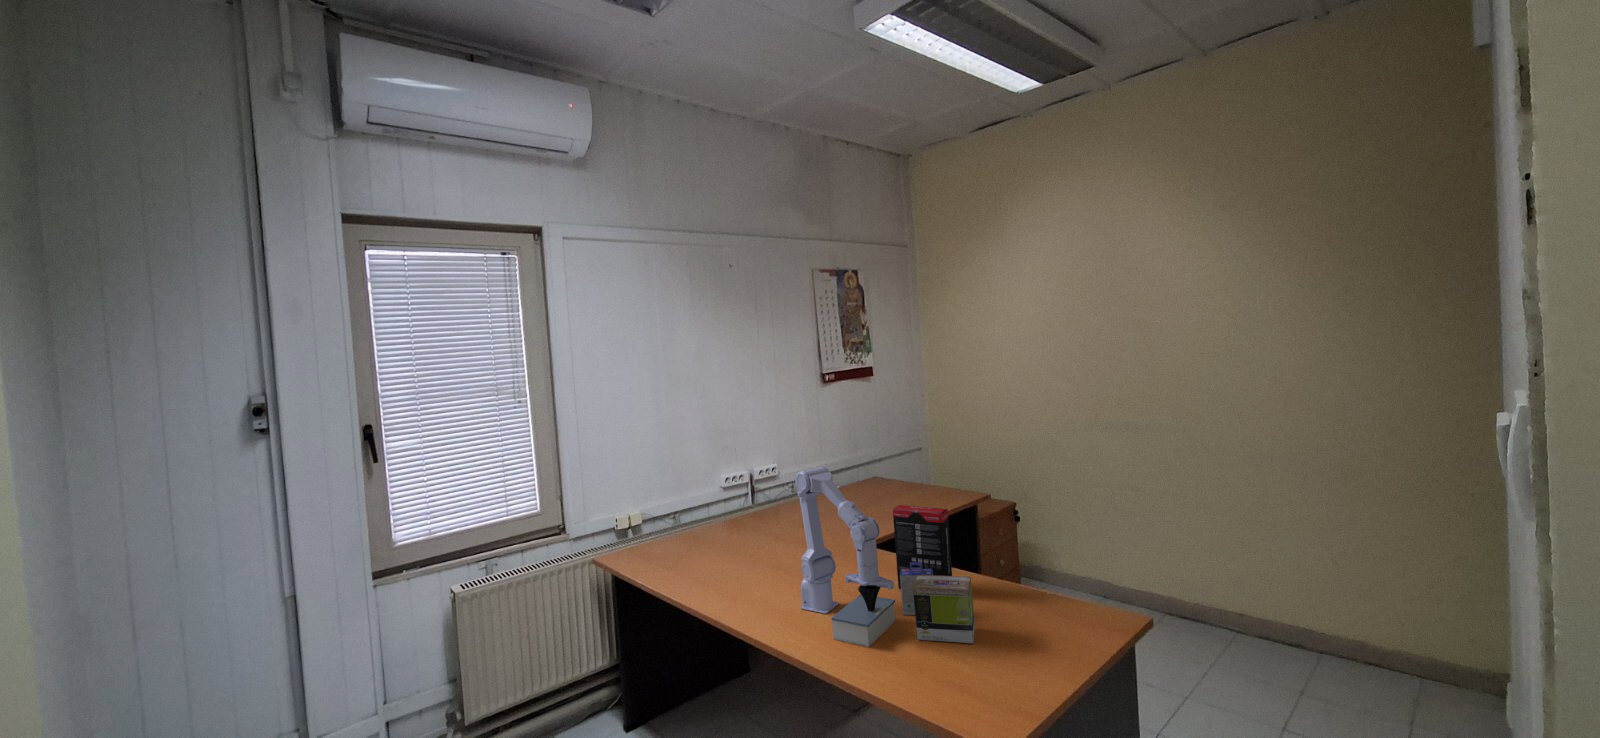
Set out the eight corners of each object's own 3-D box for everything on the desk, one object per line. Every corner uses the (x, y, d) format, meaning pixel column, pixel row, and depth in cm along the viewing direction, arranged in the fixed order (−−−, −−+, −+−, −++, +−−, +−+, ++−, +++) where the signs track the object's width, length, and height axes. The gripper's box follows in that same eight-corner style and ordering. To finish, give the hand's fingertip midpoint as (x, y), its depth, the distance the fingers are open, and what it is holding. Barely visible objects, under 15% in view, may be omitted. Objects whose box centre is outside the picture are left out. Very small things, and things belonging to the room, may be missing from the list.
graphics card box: (955, 590, 193) (948, 506, 192) (948, 598, 187) (941, 512, 187) (905, 583, 202) (899, 503, 202) (897, 591, 197) (890, 508, 196)
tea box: (975, 627, 168) (971, 575, 167) (973, 645, 158) (969, 590, 158) (921, 623, 173) (917, 573, 172) (916, 640, 163) (912, 587, 163)
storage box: (833, 639, 168) (831, 619, 167) (862, 614, 182) (860, 596, 181) (868, 647, 161) (866, 627, 161) (895, 620, 176) (893, 602, 175)
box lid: (831, 620, 167) (831, 616, 167) (860, 596, 182) (860, 593, 182) (867, 627, 161) (867, 623, 161) (895, 601, 175) (895, 598, 175)
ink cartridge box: (936, 607, 182) (932, 560, 182) (936, 615, 177) (932, 567, 176) (903, 607, 184) (899, 560, 184) (902, 615, 179) (898, 567, 178)
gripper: (838, 564, 170) (842, 611, 171) (884, 571, 162) (888, 620, 163) (850, 556, 176) (854, 601, 176) (895, 562, 168) (899, 610, 168)
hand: (871, 610), depth 170 cm, fingers closed, pressing on box lid
